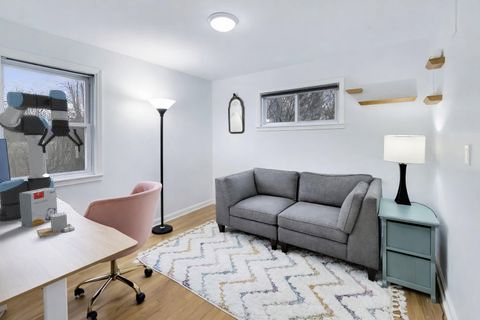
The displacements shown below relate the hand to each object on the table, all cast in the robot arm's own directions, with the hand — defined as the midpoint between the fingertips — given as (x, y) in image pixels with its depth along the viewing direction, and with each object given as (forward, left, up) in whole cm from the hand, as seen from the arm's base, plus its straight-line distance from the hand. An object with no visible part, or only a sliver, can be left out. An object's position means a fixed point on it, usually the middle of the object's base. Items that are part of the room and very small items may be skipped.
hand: (62, 158), depth 132 cm
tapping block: (+6, -5, -37) cm, 38 cm away
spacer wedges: (+11, -1, -37) cm, 39 cm away
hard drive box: (-16, -10, -39) cm, 43 cm away
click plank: (+6, -9, -39) cm, 40 cm away
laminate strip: (+6, -2, -39) cm, 39 cm away
